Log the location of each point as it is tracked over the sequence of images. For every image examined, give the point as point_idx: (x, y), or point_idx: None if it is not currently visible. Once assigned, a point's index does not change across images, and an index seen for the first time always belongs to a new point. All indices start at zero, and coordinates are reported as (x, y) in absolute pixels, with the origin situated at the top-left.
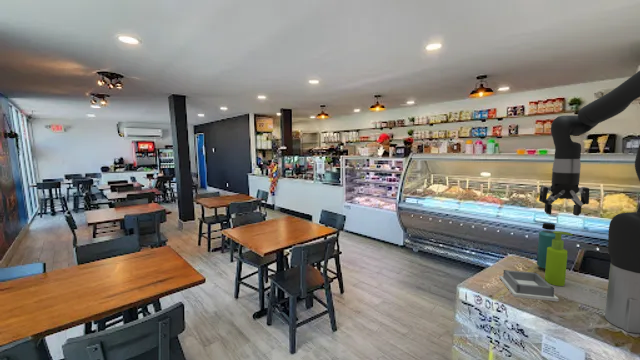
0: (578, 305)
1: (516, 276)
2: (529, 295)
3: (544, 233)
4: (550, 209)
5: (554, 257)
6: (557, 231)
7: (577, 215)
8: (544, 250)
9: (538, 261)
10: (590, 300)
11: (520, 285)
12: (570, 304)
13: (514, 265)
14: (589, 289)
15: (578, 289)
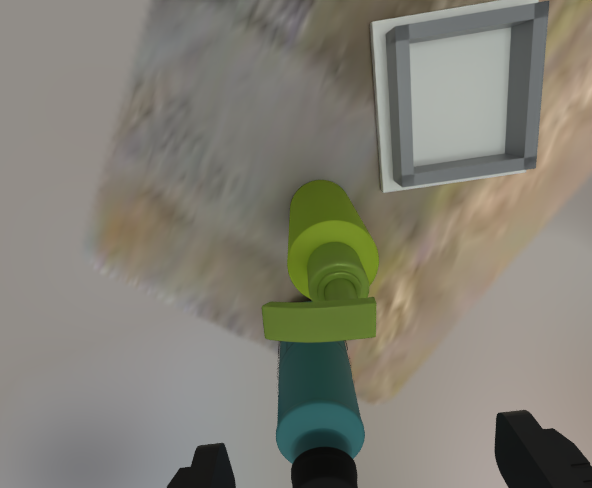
0: (308, 19)
1: (476, 160)
2: (479, 5)
3: (348, 426)
4: (557, 468)
5: (352, 215)
6: (350, 334)
7: (211, 444)
8: (335, 351)
9: None
10: (250, 88)
11: (532, 3)
12: (334, 16)
13: (410, 319)
14: (220, 191)
15: (257, 176)
